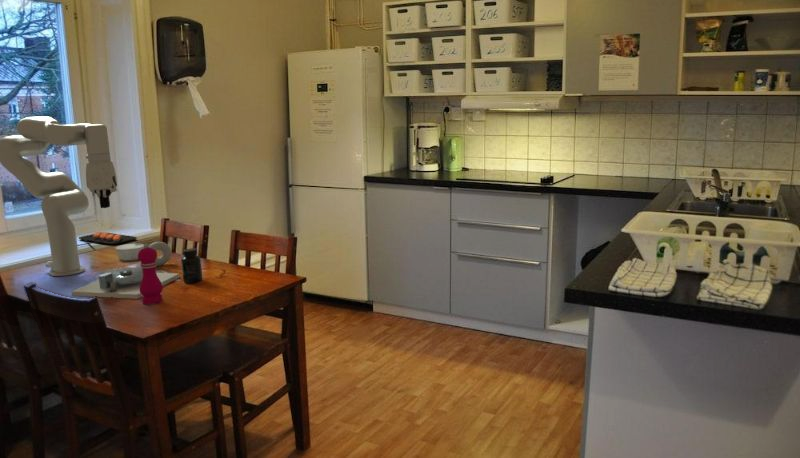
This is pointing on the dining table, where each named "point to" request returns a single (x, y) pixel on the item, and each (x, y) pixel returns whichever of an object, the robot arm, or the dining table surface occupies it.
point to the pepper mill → (149, 276)
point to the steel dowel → (112, 286)
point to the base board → (120, 288)
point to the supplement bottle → (191, 266)
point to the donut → (165, 252)
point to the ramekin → (129, 251)
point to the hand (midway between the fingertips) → (105, 207)
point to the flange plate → (121, 277)
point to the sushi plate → (106, 238)
